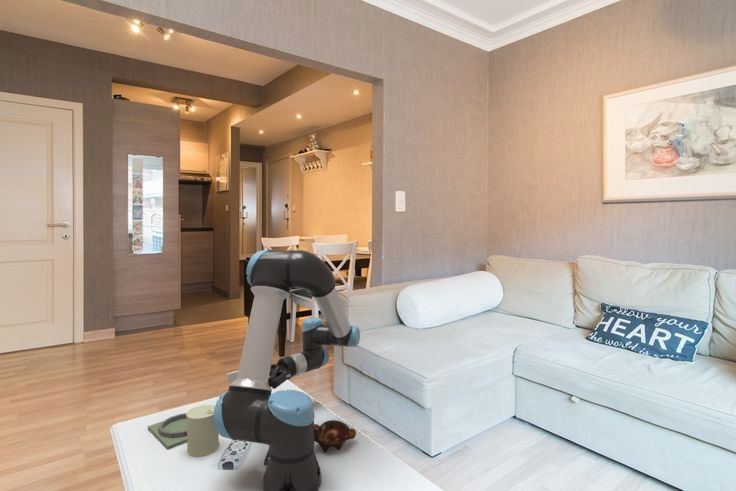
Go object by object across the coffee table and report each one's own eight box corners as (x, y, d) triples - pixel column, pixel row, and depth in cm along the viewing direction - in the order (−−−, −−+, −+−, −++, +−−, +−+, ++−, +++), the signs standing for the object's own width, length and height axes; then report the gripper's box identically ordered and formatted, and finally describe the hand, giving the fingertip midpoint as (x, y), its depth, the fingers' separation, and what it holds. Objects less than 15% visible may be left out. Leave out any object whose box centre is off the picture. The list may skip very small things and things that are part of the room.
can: (208, 458, 118) (207, 418, 117) (180, 454, 120) (179, 415, 119) (225, 441, 127) (224, 404, 126) (199, 438, 129) (198, 402, 128)
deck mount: (218, 430, 134) (217, 423, 134) (167, 449, 123) (167, 441, 122) (195, 413, 147) (195, 406, 146) (147, 429, 135) (147, 421, 135)
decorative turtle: (303, 445, 125) (304, 419, 125) (348, 437, 131) (349, 412, 131) (312, 459, 116) (313, 431, 116) (360, 450, 122) (361, 424, 123)
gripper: (312, 385, 138) (257, 406, 123) (272, 367, 155) (220, 384, 140) (312, 364, 137) (257, 382, 122) (272, 348, 155) (219, 362, 140)
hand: (237, 383), depth 131 cm, fingers open, 13 cm apart
